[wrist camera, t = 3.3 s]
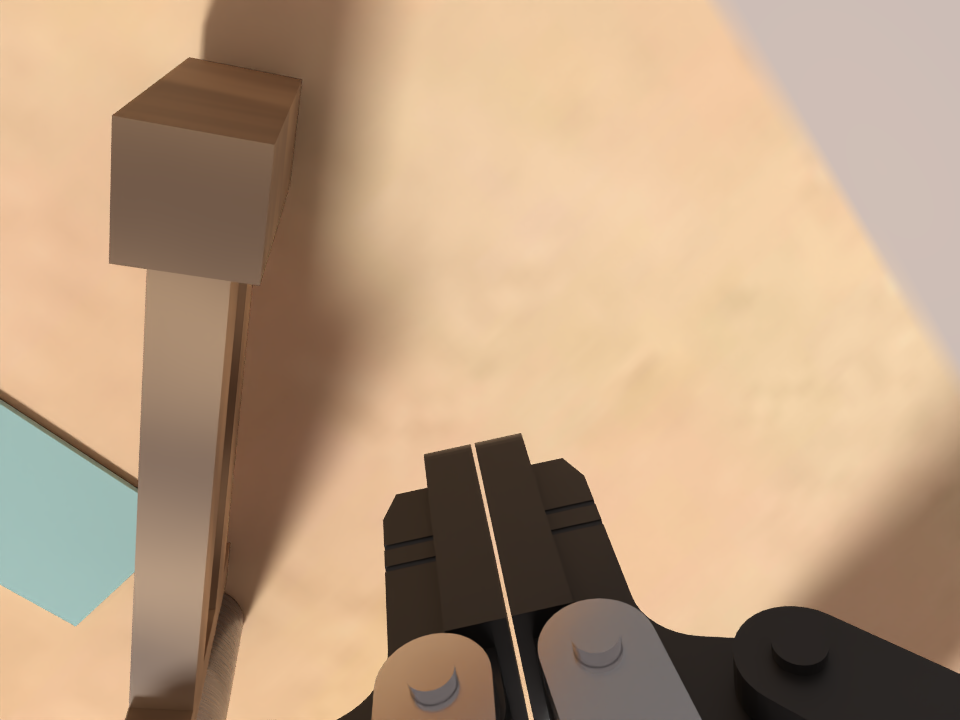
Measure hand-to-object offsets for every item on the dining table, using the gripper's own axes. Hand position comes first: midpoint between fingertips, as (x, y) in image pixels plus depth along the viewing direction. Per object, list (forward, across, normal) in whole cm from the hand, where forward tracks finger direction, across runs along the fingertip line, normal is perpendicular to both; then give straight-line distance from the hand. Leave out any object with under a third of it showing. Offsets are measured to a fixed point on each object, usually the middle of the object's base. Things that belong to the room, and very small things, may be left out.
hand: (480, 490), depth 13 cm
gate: (+13, +7, +3) cm, 15 cm away
